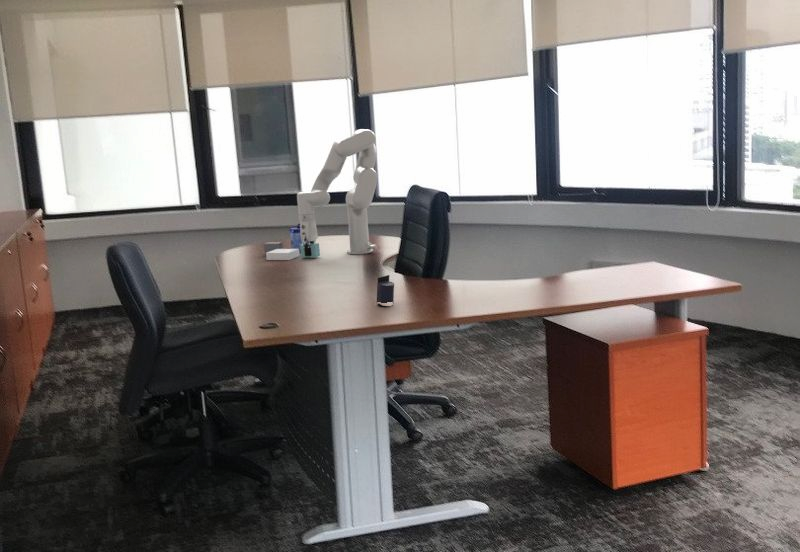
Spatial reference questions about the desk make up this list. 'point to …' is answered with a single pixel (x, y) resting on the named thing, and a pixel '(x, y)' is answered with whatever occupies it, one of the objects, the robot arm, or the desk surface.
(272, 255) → the white block
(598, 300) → the desk surface
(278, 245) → the grey brick
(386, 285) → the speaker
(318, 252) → the teal brick
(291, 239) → the ink cartridge box
